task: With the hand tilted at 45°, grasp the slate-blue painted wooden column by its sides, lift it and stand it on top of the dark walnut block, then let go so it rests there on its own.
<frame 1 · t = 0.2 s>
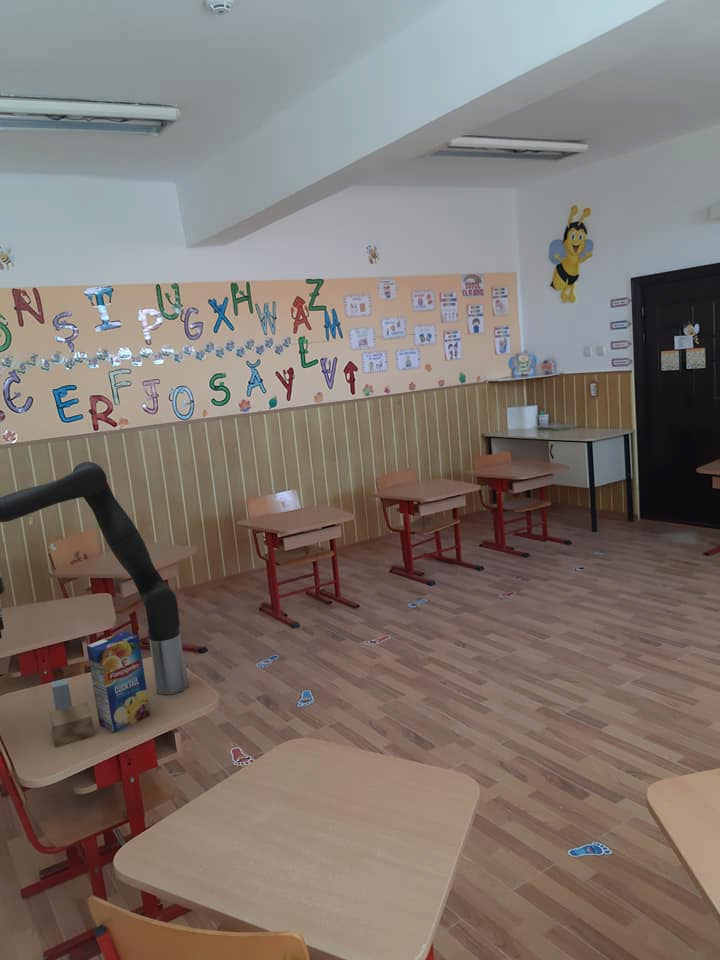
slate column: (65, 714, 219), on the table
juice carton: (125, 721, 212), on the table
walnut block: (73, 734, 207), on the table
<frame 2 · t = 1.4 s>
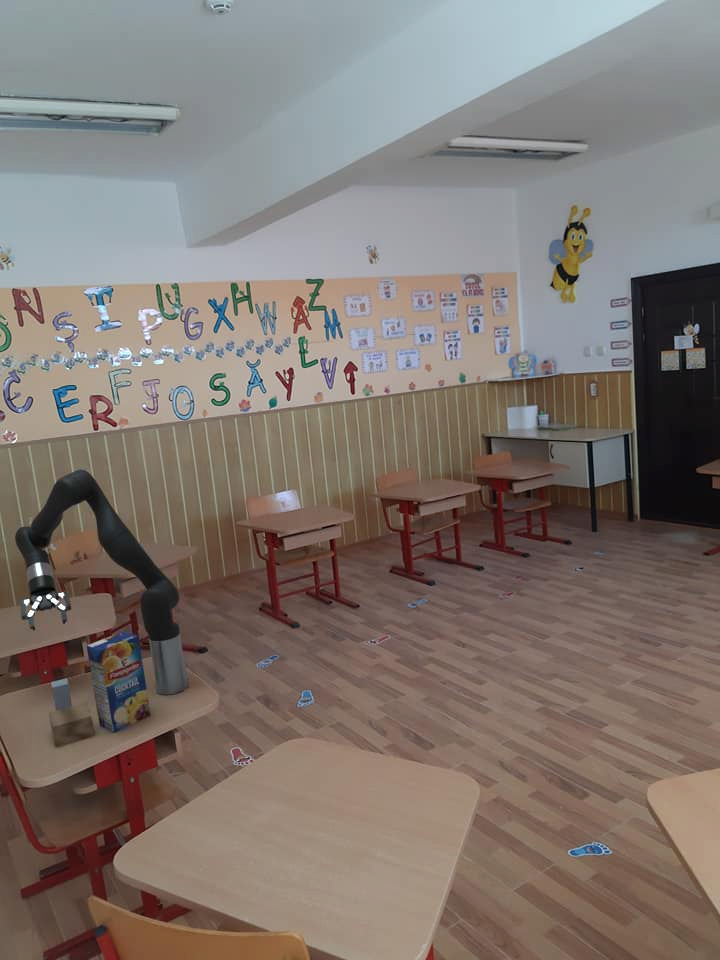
hand: (49, 625, 225), 24 cm above the table, tool tilted 45°, fingers open, 8 cm apart
nothing on the table moved.
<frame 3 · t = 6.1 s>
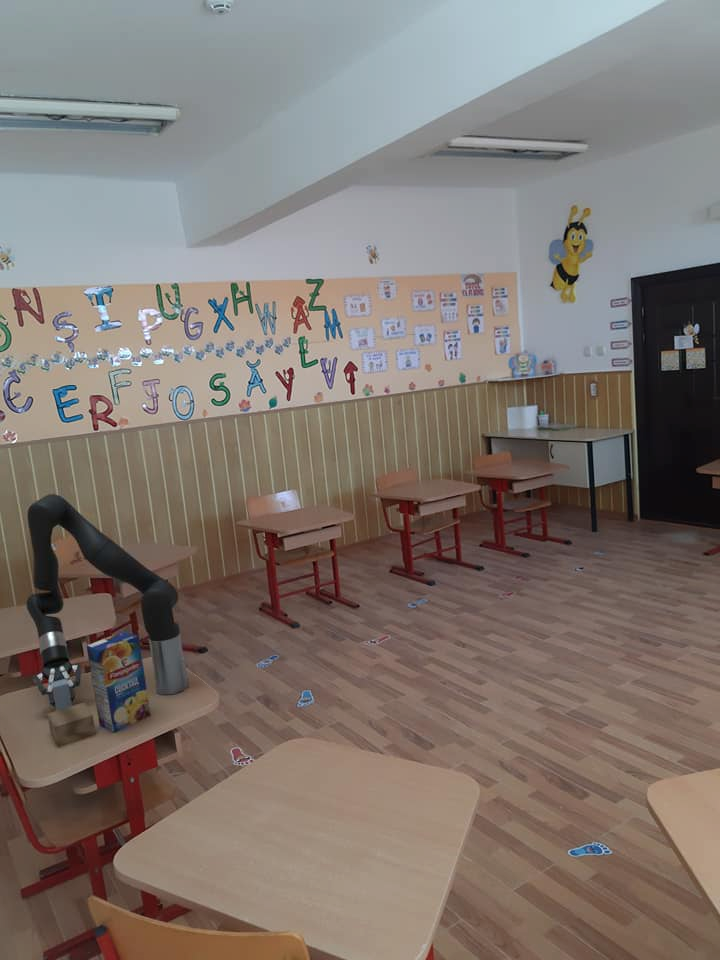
hand: (63, 702, 217), 5 cm above the table, tool tilted 45°, fingers closed on slate column, 4 cm apart
slate column: (65, 714, 219), on the table, touching gripper
everything else where it was.
when the fingers open (12 cm above the table, at t = 13.3 s): slate column drops 1 cm, resting on walnut block.
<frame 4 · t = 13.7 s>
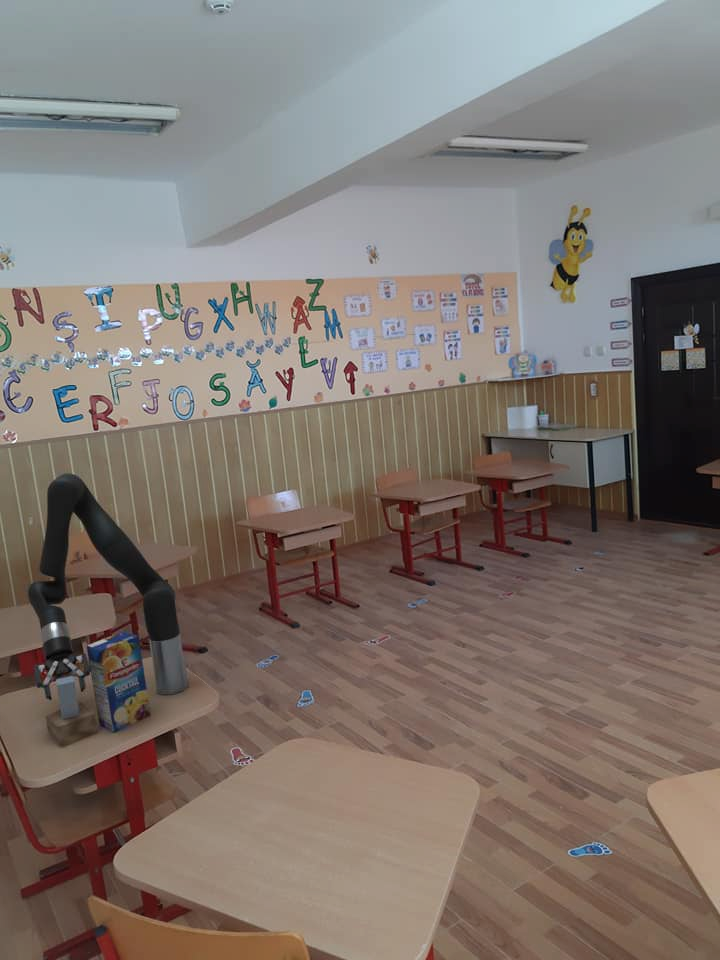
hand: (66, 694, 204), 12 cm above the table, tool tilted 45°, fingers open, 8 cm apart
slate column: (70, 714, 206), point 6 cm above the table, touching walnut block
walnut block: (73, 734, 207), on the table, touching slate column
everything else where it was.
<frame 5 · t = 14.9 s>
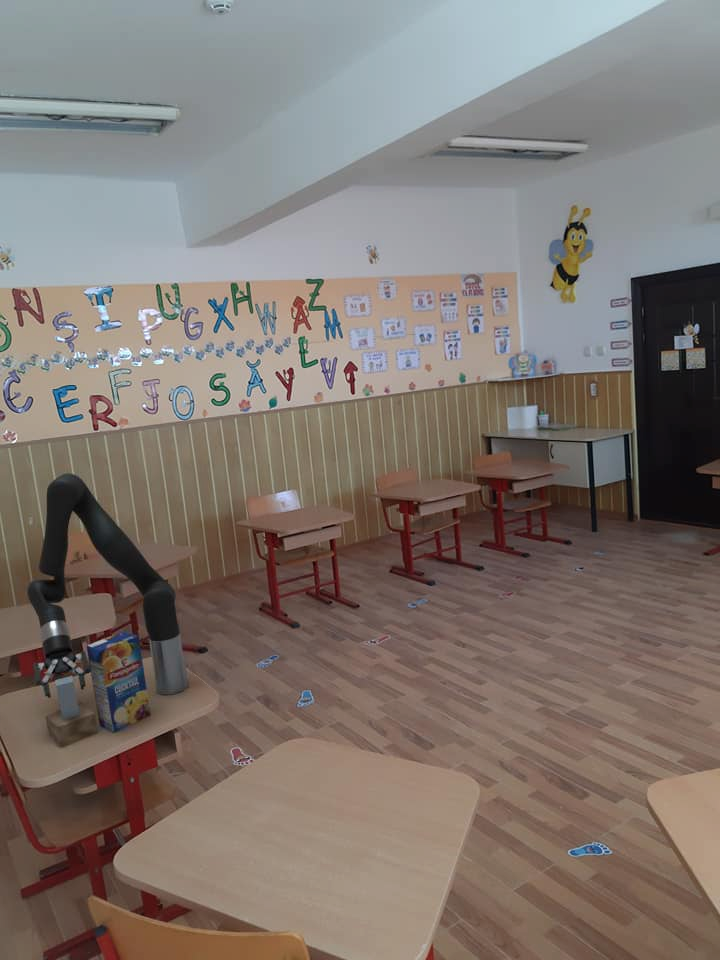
hand: (66, 692, 205), 12 cm above the table, tool tilted 45°, fingers open, 8 cm apart
nothing on the table moved.
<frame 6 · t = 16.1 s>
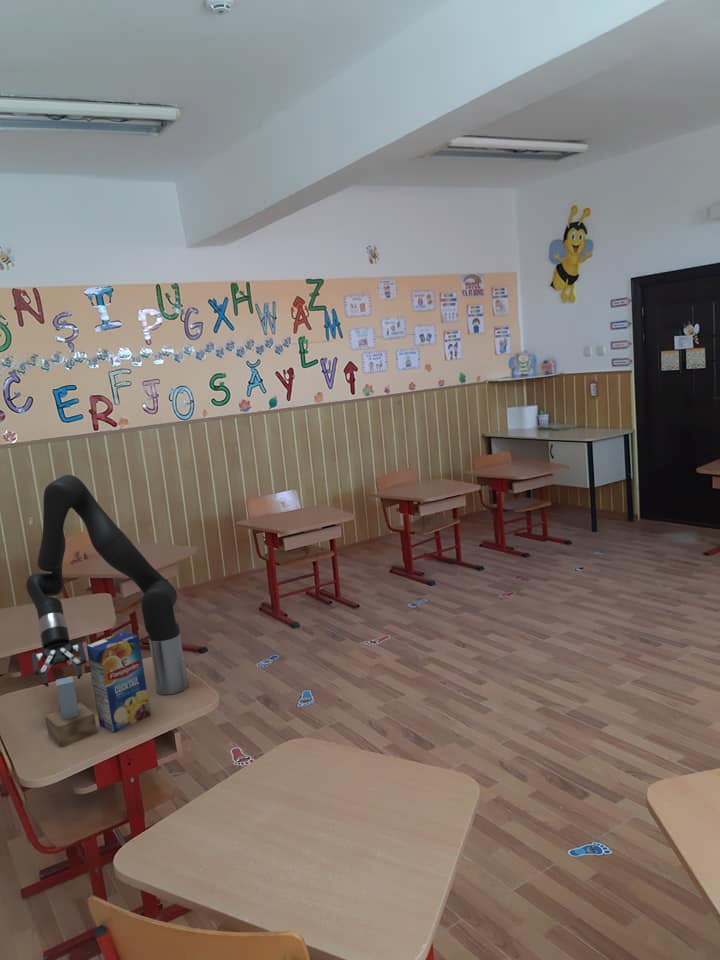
hand: (63, 681, 212), 12 cm above the table, tool tilted 45°, fingers open, 8 cm apart
nothing on the table moved.
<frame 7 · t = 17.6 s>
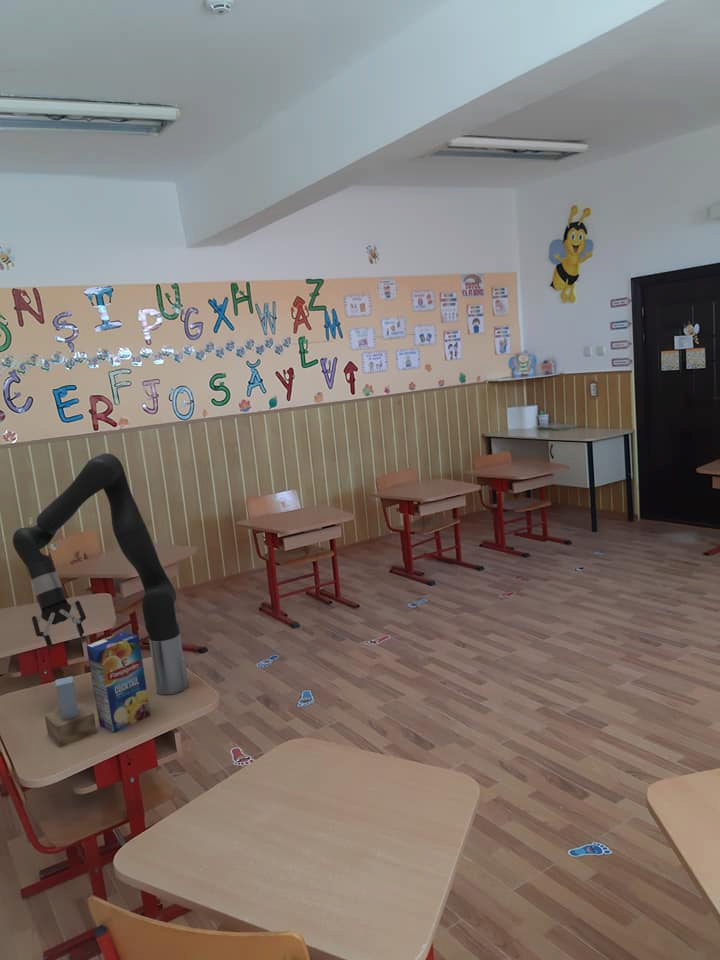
hand: (67, 642, 220), 21 cm above the table, tool tilted 20°, fingers open, 8 cm apart
nothing on the table moved.
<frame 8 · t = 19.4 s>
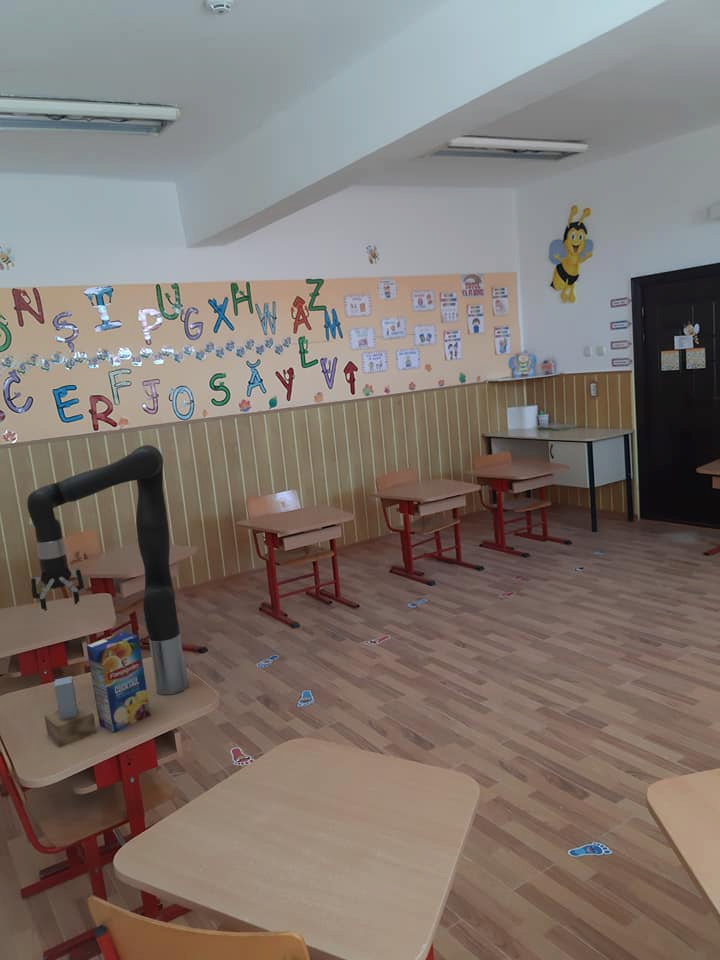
hand: (61, 606, 223), 30 cm above the table, tool pointing down, fingers open, 8 cm apart
slate column: (69, 714, 206), point 6 cm above the table
walnut block: (72, 734, 207), on the table
everything else where it was.
at the end: slate column inside the target area on the walnut block (0.4 cm from its centre), point 6.0 cm above the walnut block's base; slate column tilted 0°; the gripper is holding nothing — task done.
